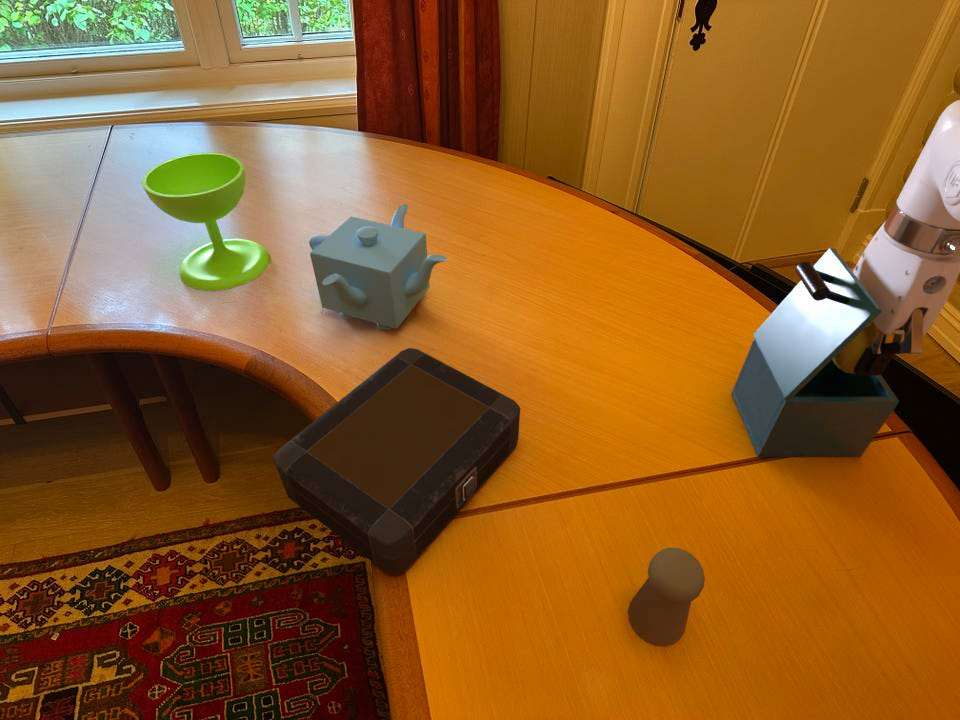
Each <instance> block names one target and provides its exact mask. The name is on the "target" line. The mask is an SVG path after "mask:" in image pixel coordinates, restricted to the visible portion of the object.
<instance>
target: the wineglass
mask: <svg viewBox="0 0 960 720" xmlns="http://www.w3.org/2000/svg"><path fill="white" fill-rule="evenodd" d="M141 186H142V188H143V190H144V192H145V193H146V195H147V197H148V198H149V200H150V201H151V202H152V203H153V204H154V205H155V206H156V207H157V208H158V209H160V210H161V211H162V212H163V213H165V214H166V215H168V216H170V217H172V218H174V219H176V220H179V221H182V222H187V223H191V224H204V225H205V228H206V230H207V233H208V236H209V239H210V241H211V242H209V243H206V244H204V245H201V246H200V247H198V248H196V249H195V250H193V251H191V252H190V253H189V254H188V255H187V256H186V257H185V258H184V259H183V261H182V262H181V264H180V266H179V267H180V268H179V277H180V279H181V281H182V282H183V283H184V284H185V285H186V286H187V287H190V288H192V289H194V290H200V291H205V292H206V291H212V292H213V291H223V290H231V289H233V288H237V287H240V286H243V285H246V284H247V283H249V282H252V281H254V280H255V279H256V278H258V277H259V276H261V275H262V273H264V271H266V270H267V268H268V266H269V265H270V261H271V260H270V254H269V253H268V251H267V249H266V248H265V247H264V246H262V244H260V243H258V242H255V241H253V240H249V239H242V238H228V239H223V237H222V234H221V230H220V227H219V225H218V222H217V221H218V220H220V219H223V218H224V217H226V216H227V215H229V214H230V213H231V212H232V211H233V210H234V209H235V208H236V207H238V204H239V202H240V200H241V198H242V197H243V195H244V192H245V186H246V171H245V164H244V163H243V162H242V160H241V159H239V158H238V157H236V156H234V155H231V154H228V153H227V154H226V153H222V152H197V153H189V154H185V155H179V156H176V157H172V158H170V159H167V160H163V162H160V163H158V164H156V165H154V166H153V167H151V168H150V169H148V170H147V171H146V173H145V174H144V175H143V176H142V179H141Z"/></svg>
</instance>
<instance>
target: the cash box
mask: <svg viewBox="0 0 960 720" xmlns="http://www.w3.org/2000/svg"><path fill="white" fill-rule="evenodd" d="M520 420H521V407H520V405H519V404H518V403H517V402H516V401H515V399H513V398H511V397H509V396H507V395H506V394H503V393H501V392H500V391H498V390H496V389H494V388H492V387H491V386H489V385H486V384H485V383H483V382H481V381H479V380H477V379H475V378H473V377H471V376H469V375H467V374H465V373H463V372H462V371H459V370H458V369H456V368H454V367H452V366H451V365H448V364H446V363H445V362H443V361H441V360H439V359H437V358H435V357H433V356H432V355H429V354H428V353H426V352H424V351H422V350H420V349H418V348H412V347H408V348H405V349H402V350H400V351H399V353H397V354H396V355H394V356H393V357H391V358H390V360H388V361H387V362H386V363H385V364H383V365H382V366H381V367H380V368H378V369H377V370H376V371H374V372H373V373H372V374H371V375H370V376H368V377H367V378H365V380H363V381H362V382H361V383H359V384H358V385H357V386H356V387H354V388H353V389H352V390H351V391H349V393H347V394H346V395H345V396H344V397H342V398H341V399H339V400H338V401H337V402H336V403H335V404H333V405H332V406H331V407H330V408H328V409H327V410H326V411H325V412H323V413H322V414H321V415H320V416H318V417H317V418H316V419H314V420H313V421H312V422H311V423H310V424H309V425H308V426H306V427H305V428H304V429H303V430H301V431H300V432H299V433H297V434H296V435H295V436H294V437H292V438H291V439H290V440H289V441H287V442H286V443H285V444H283V446H281V447H280V448H278V450H277V452H276V453H275V455H274V456H273V462H274V464H275V468H276V470H277V472H278V475H279V478H280V481H281V483H282V486H283V489H284V492H285V494H286V496H287V498H288V499H289V500H290V501H292V502H293V503H295V504H296V505H297V506H299V507H300V508H301V509H302V510H303V511H305V512H306V513H307V514H309V515H310V516H311V517H313V518H314V519H316V520H317V521H318V522H319V523H321V524H322V525H323V526H325V527H326V528H327V529H328V530H330V531H331V532H332V533H334V534H335V536H338V537H339V538H340V539H342V540H343V541H344V542H346V543H347V544H348V545H349V546H350V547H352V548H353V549H354V550H356V551H357V552H358V553H360V554H361V555H363V557H365V558H366V559H368V560H369V561H370V562H372V564H374V565H376V566H377V567H378V568H380V569H381V570H382V571H384V572H385V573H386V574H390V575H394V576H399V575H401V574H403V573H405V572H407V571H408V570H409V568H410V567H412V565H414V563H415V562H416V561H417V560H418V559H419V557H421V555H422V554H423V553H424V552H425V551H426V549H428V548H429V546H430V545H431V544H432V543H433V542H434V540H435V539H436V538H437V537H438V536H439V535H440V534H441V533H442V532H443V530H444V529H446V527H447V526H448V525H449V524H450V522H451V521H452V520H453V519H454V518H455V517H456V516H457V515H458V513H459V512H461V510H462V509H463V508H464V507H465V505H466V504H467V503H468V502H469V501H470V500H471V499H472V498H473V497H474V496H475V495H476V494H477V492H478V491H479V490H480V489H481V488H482V487H483V486H484V484H485V483H486V482H487V481H488V480H489V479H490V478H491V476H492V475H493V474H494V473H495V472H496V471H497V469H499V467H500V466H502V464H503V463H504V462H505V461H506V460H507V458H508V457H510V455H511V454H512V452H513V451H514V450H515V449H516V448H517V446H518V442H519V434H520Z"/></svg>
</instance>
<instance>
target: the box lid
mask: <svg viewBox="0 0 960 720" xmlns="http://www.w3.org/2000/svg"><path fill="white" fill-rule="evenodd" d="M850 269H851V267H850V266H848V264H847V263H846V261H845V260H844V259H843V258H842V256H841V255H840V254H839V252H837V250H836V249H835V248H831V247H829V248H828V249H827V250H826V251H825V252H824V253H823V255H821V257H820V258H819V259H818V260H817V261H816V262H815V264H812V263H811V262H809V261H803V262H800V263H799V264H797V266H796V267H795V270H794V271H795V274H796V276H797V277H798V278H799V280H800V281H799V282H798V283H797V284H796V285H795V286H794V287H793V288H792V289H791V291H790V292H789V293H788V295H786V297H784V299H783V300H782V301H781V302H780V303H779V304H778V305H777V307H776V308H775V309H774V310H773V311H772V312H771V314H770V315H769V316H768V317H767V318H765V320H764V321H763V322H762V324H761V325H760V326H759V327H758V328H757V329H756V330H755V331H754V333H753V334H752V336H753V339H754V338H755V340H756V342H757V344H758V346H759V348H760V350H761V352H762V354H763V356H764V358H765V360H766V362H767V364H768V366H769V368H770V370H771V372H772V373H773V375H774V377H775V379H776V381H777V383H778V385H779V387H780V389H781V391H782V393H783V395H784V397H785V398H786V399H791V398H792V397H793V396H795V395H796V394H797V393H798V392H799V391H800V390H801V389H802V388H803V387H804V386H805V385H806V384H807V383H808V382H809V381H810V380H811V379H812V378H813V377H814V376H815V375H816V374H817V373H819V372H820V371H821V370H822V369H823V368H824V367H825V366H826V365H827V364H828V363H829V362H830V361H831V360H832V359H833V358H834V357H835V356H836V355H837V354H838V353H839V352H840V351H841V350H843V349H844V348H845V347H846V346H847V345H848V344H849V343H850V342H851V341H852V340H853V339H854V338H855V337H856V336H857V335H858V334H859V333H860V332H861V331H862V330H863V329H864V328H865V327H867V326H868V325H869V324H870V323H871V322H872V321H873V320H874V319H875V318H876V317H877V316H878V315H879V314H880V313H881V312H882V309H881V308H880V307H879V305H878V304H877V303H876V302H875V300H874V299H873V298H872V296H871V295H870V294H869V293H868V291H867V290H866V289H865V288H864V286H863V285H862V284H861V282H860V281H859V280H858V279H857V277H856V276H855V275H854V273H853V272H852V271H851V270H850Z"/></svg>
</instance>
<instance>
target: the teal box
mask: <svg viewBox="0 0 960 720" xmlns="http://www.w3.org/2000/svg"><path fill="white" fill-rule="evenodd" d="M730 394H731V397H732V399H733V401H734V404H735V406H736V409H737V411H738V413H739V416H740V418H741V421H742V422H743V425H744V428H745V431H746V432H747V434H748V438H749V439H750V442H751V444H752V446H753V449H754V451H755V453H756V456H757V458H861V457H862V455H863V454H864V453H865V451H866V450H867V449H868V447H869V446H870V444H871V443H872V441H873V440H874V438H875V437H876V436H877V435H878V433H879V431H880V430H881V429H882V427H883V426H884V424H885V423H886V422H887V420H888V418H889V417H890V416H891V415H892V413H893V411H894V410H895V409H896V407H897V405H898V404H899V403H900V400H899V399H898V398H897V397H898V396H896V395H895V393H894V392H893V391H892V389H891V388H890V386H889V384H888V383H887V381H886V380H885V379H884V377H883V376H882V374H881V375H855V374H851V373H845V372H843V370H841V369H840V368H838V367H837V366H836V364H835V363H834V361H833V359H832V360H831V361H830V362H829V363H828V364H827V365H826V366H825V367H824V368H823V369H822V370H821V371H820V372H819V373H817V374H816V375H815V376H814V377H813V378H812V379H811V380H810V381H809V382H808V383H807V384H806V385H805V386H804V387H803V388H802V389H801V390H800V391H799V392H798V393H797V394H796V395H795V396H793V397H792V398H791V399H786V398H785V397H784V395H783V393H782V391H781V389H780V387H779V385H778V383H777V381H776V379H775V377H774V375H773V373H772V372H771V370H770V368H769V366H768V364H767V362H766V360H765V358H764V356H763V354H762V352H761V350H760V348H759V346H758V344H757V342H756V340H755V338H754V337H753V340H752V342H751V345H750V347H749V350H748V352H747V355H746V357H745V359H744V362H743V364H742V367H741V369H740V371H739V374H738V376H737V378H736V381H735V383H734V386H733V388H732V390H731V393H730Z"/></svg>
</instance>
